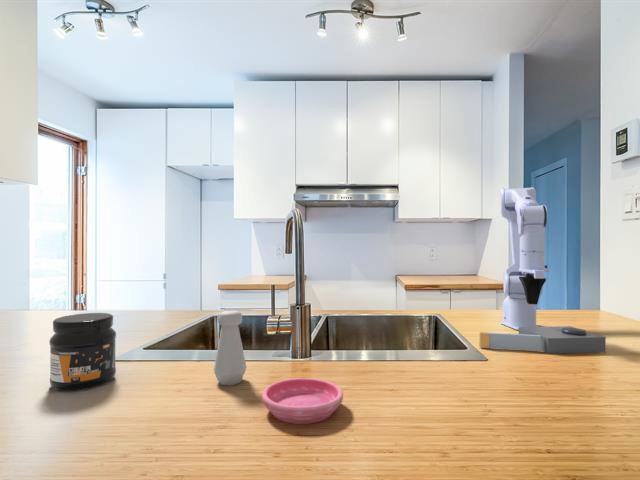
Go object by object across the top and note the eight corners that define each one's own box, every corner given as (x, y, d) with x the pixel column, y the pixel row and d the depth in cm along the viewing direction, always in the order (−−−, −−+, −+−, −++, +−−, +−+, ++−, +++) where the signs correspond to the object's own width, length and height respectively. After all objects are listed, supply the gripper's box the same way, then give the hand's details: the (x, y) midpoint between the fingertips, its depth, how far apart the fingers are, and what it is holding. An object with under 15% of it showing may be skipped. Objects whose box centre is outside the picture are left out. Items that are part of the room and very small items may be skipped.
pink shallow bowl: (299, 389, 69) (299, 371, 69) (358, 408, 61) (358, 388, 61) (244, 413, 59) (244, 392, 59) (306, 440, 51) (306, 416, 51)
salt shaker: (242, 387, 69) (242, 314, 69) (210, 387, 69) (210, 314, 69) (249, 376, 75) (248, 308, 75) (219, 376, 75) (219, 308, 75)
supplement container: (38, 396, 65) (38, 325, 65) (62, 375, 76) (62, 313, 76) (108, 389, 68) (108, 321, 68) (121, 370, 78) (121, 310, 78)
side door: (480, 347, 93) (480, 333, 93) (479, 346, 95) (479, 332, 95) (541, 351, 90) (541, 336, 90) (539, 350, 91) (539, 335, 91)
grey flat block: (518, 340, 101) (518, 324, 101) (570, 339, 102) (570, 323, 102) (548, 353, 89) (548, 334, 89) (605, 352, 90) (605, 333, 90)
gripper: (558, 252, 93) (558, 309, 93) (541, 251, 107) (541, 300, 107) (525, 252, 95) (525, 307, 95) (513, 250, 109) (513, 299, 109)
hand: (532, 303), depth 101 cm, fingers closed
